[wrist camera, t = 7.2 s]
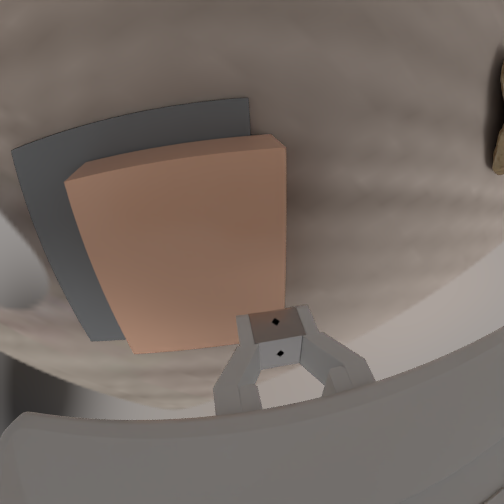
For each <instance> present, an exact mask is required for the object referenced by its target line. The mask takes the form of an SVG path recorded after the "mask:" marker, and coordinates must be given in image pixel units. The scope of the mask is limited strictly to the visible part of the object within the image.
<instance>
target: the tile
mask: <svg viewBox="0 0 504 504" xmlns="http://www.w3.org/2000/svg"><path fill="white" fill-rule="evenodd" d="M64 184H65V188H66V191H67V194H68V198H69V201H70V204H71V208H72V211H73V214H74V217H75V220H76V223H77V226H78V229H79V232H80V234H81V237H82V240H83V243H84V246H85V248H86V251H87V253H88V256H89V259H90V261H91V264H92V266H93V269H94V271H95V274H96V276H97V278H98V281H99V283H100V285H101V288H102V290H103V292H104V294H105V297H106V299H107V301H108V303H109V305H110V308H111V310H112V312H113V314H114V316H115V318H116V320H117V322H118V324H119V326H120V328H121V330H122V332H123V334H124V336H125V338H126V340H127V342H128V344H129V346H130V348H131V349H132V351H133V353H134V354H144V353H157V352H169V351H180V350H190V349H200V348H208V347H217V346H224V345H232V344H239V338H238V330H237V323H236V315H245V314H251V313H259V312H267V311H272V310H278V309H284V308H285V278H286V147H285V146H284V145H283V144H282V143H280V142H279V141H278V140H277V139H276V138H275V137H274V136H273V135H271V134H266V135H252V136H240V137H229V138H220V139H211V140H203V141H195V142H188V143H181V144H174V145H168V146H162V147H156V148H150V149H145V150H139V151H134V152H129V153H124V154H119V155H115V156H110V157H106V158H101V159H97V160H93V161H89V162H85V163H84V164H83V165H82V166H81V167H80V168H79V169H77V170H76V171H75V172H74V173H73V174H72V175H71V176H70V177H69V178H68V179H66V180H65V181H64Z"/></svg>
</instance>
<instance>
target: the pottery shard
mask: <svg viewBox="0 0 504 504" xmlns="http://www.w3.org/2000/svg"><path fill="white" fill-rule="evenodd" d="M500 82H501V88H502V92H503V94H502V96H503V99H504V61H503V65H502V70H501V78H500ZM492 168H493V171H494V172H495V173H496V174H497V175H503V174H504V124H503V129H501V130H500V131H499V135H498V139H497V144H496V148H495V150H494V154H493V165H492Z"/></svg>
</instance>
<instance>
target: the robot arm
mask: <svg viewBox="0 0 504 504" xmlns="http://www.w3.org/2000/svg"><path fill="white" fill-rule="evenodd" d="M236 323H237V330H238V338H239V345H240V346H239V347H237V348H236V350H235V352H234V353H233V355H232V357H231V359H230V360H229V362H228V364H227V365H226V367H225V369H224V371H223V372H222V374H221V376H220V377H219V379H218V381H217V383H216V384H215V386H214V388H213V392H214V403H215V412H216V416H209V417H198V418H185V419H167V420H105V419H87V418H74V417H64V416H55V415H47V414H40V413H34V412H24V413H23V414H21V415H20V416H19V417H18V418H16V420H14V421H13V422H12V423H11V424H10V426H9V427H8V428H7V429H6V430H5V431H4V432H3V434H2V436H1V438H0V504H504V326H503V327H501V328H499V329H498V330H496V331H494V332H492V333H490V334H488V335H486V336H484V337H482V338H481V339H479V340H477V341H475V342H473V343H471V344H468V345H467V346H464V347H462V348H460V349H458V350H456V351H454V352H451V353H449V354H447V355H445V356H442V357H440V358H438V359H435V360H433V361H431V362H428V363H426V364H423V365H421V366H418V367H416V368H413V369H411V370H408V371H405V372H402V373H400V374H397V375H394V376H391V377H388V378H386V379H382V380H380V381H375V379H374V377H373V374H372V373H371V370H370V368H369V366H368V364H367V362H366V360H365V359H364V358H363V357H361V356H359V355H358V354H356V353H355V352H353V351H352V350H350V349H349V348H347V347H346V346H344V345H342V344H341V343H339V342H338V341H336V340H335V339H333V338H332V337H330V336H328V335H327V334H325V333H324V332H319V330H318V328H317V325H316V323H315V321H314V318H313V316H312V314H311V311H310V309H309V307H308V305H301V306H295V307H289V308H284V309H278V310H272V311H267V312H259V313H251V314H245V315H236ZM296 363H300V364H301V365H302V366H303V367H304V368H305V369H306V370H307V371H309V372H310V373H311V374H312V375H313V376H314V377H316V378H317V379H318V380H319V381H320V382H321V383H322V384H324V385H325V387H324V390H323V394H322V397H320V398H316V399H311V400H307V401H303V402H298V403H293V404H288V405H283V406H278V407H273V408H267V409H262V405H261V400H260V396H259V392H258V387H257V386H256V385H255V383H256V381H257V378H258V376H259V373H260V370H263V369H268V368H273V367H278V366H284V365H290V364H296Z"/></svg>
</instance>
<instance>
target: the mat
mask: <svg viewBox="0 0 504 504" xmlns="http://www.w3.org/2000/svg"><path fill="white" fill-rule="evenodd" d="M240 136H251V134H250V116H249V99H248V98H235V99H224V100H214V101H205V102H197V103H189V104H182V105H175V106H169V107H163V108H157V109H152V110H147V111H141V112H136V113H132V114H127V115H123V116H118V117H114V118H110V119H106V120H102V121H98V122H94V123H91V124H87V125H83V126H80V127H76V128H73V129H70V130H67V131H63V132H60V133H57V134H54V135H51V136H48V137H45V138H42V139H40V140H37V141H34V142H31V143H29V144H26V145H24V146H21V147H18V148H16V149H13V150H12V151H11V153H12V157H13V161H14V165H15V168H16V172H17V176H18V179H19V182H20V186H21V189H22V192H23V195H24V198H25V201H26V204H27V207H28V210H29V213H30V216H31V219H32V221H33V224H34V227H35V229H36V232H37V234H38V237H39V239H40V242H41V244H42V247H43V249H44V251H45V254H46V256H47V258H48V261H49V263H50V265H51V267H52V269H53V271H54V274H55V276H56V278H57V280H58V282H59V284H60V286H61V288H62V290H63V292H64V294H65V296H66V298H67V300H68V302H69V303H70V305H71V307H72V309H73V311H74V313H75V314H76V316H77V318H78V320H79V322H80V323H81V325H82V327H83V328H84V330H85V332H86V333H87V335H88V337H89V338H90V340H91V341H109V340H125V339H126V338H125V336H124V334H123V332H122V330H121V328H120V326H119V324H118V322H117V320H116V318H115V316H114V314H113V312H112V310H111V308H110V305H109V303H108V301H107V299H106V297H105V294H104V292H103V290H102V288H101V285H100V283H99V281H98V278H97V276H96V274H95V271H94V269H93V266H92V264H91V261H90V259H89V256H88V253H87V251H86V248H85V246H84V243H83V240H82V237H81V234H80V232H79V229H78V226H77V223H76V220H75V217H74V214H73V211H72V208H71V204H70V201H69V198H68V194H67V191H66V188H65V184H64V181H65V180H66V179H68V178H69V177H70V176H71V175H72V174H73V173H74V172H75V171H76V170H77V169H79V168H80V167H81V166H82V165H83V164H84V163H85V162H89V161H93V160H97V159H101V158H106V157H110V156H115V155H119V154H124V153H129V152H134V151H139V150H145V149H150V148H156V147H162V146H168V145H174V144H181V143H188V142H195V141H203V140H211V139H220V138H229V137H240Z"/></svg>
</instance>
